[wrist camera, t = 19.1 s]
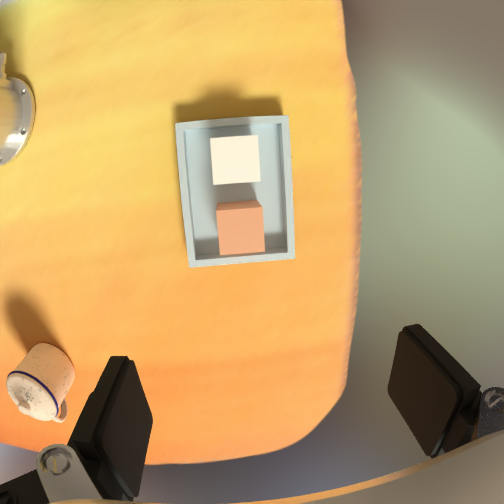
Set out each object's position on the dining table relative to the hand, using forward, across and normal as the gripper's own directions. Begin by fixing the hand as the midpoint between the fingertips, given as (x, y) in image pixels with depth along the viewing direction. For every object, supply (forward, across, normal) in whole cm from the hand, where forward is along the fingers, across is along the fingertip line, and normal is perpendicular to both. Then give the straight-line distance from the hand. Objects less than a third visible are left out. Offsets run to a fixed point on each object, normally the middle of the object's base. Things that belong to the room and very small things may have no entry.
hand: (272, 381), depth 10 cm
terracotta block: (+28, 0, 0) cm, 28 cm away
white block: (+28, 0, -7) cm, 29 cm away
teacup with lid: (+28, +32, +22) cm, 48 cm away
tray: (+28, 0, -4) cm, 29 cm away
